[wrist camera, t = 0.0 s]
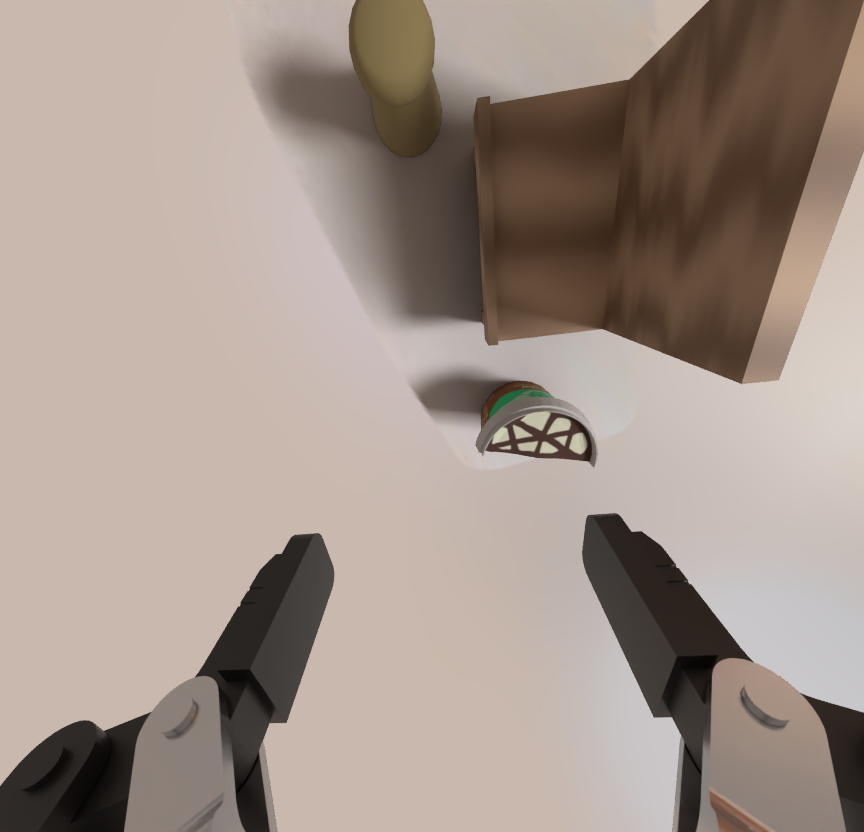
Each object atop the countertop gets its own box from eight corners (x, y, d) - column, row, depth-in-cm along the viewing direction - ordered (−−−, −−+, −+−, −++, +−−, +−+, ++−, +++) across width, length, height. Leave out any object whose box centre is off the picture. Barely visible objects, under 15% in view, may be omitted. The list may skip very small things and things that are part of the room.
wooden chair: (467, 147, 28) (524, -129, 9) (599, 125, 27) (1009, -242, 8) (477, 326, 35) (523, 405, 15) (583, 313, 34) (778, 380, 14)
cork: (358, 109, 27) (311, 21, 18) (409, 45, 26) (389, -94, 16) (405, 173, 29) (386, 127, 19) (455, 117, 27) (463, 34, 18)
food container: (579, 377, 37) (622, 412, 28) (564, 423, 40) (600, 468, 31) (477, 366, 37) (488, 398, 28) (469, 412, 40) (477, 455, 31)
